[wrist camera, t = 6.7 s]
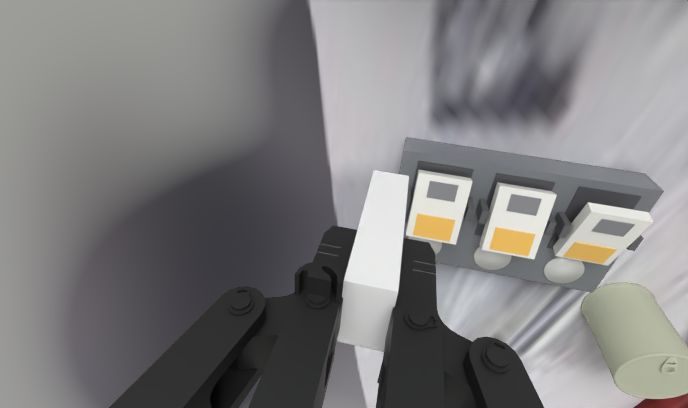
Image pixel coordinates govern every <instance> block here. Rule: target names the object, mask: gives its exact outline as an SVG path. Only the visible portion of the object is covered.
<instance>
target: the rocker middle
mask: <svg viewBox="0 0 688 408" xmlns="http://www.w3.org/2000/svg"><path fill="white" fill-rule="evenodd" d="M556 196H557V195H556V194H555V193H554V192H552V191H547V190H541V189H535V188H529V187H523V186H516V185H510V184H504V183H498V182H497V185H496V188H495V192H494V195H493V199H492V202H491V206H490V209H489V213H488V216H487V220H486V223H485V227H484V230H483V234H482V237H481V241H480V244H479V245H480V247H481V250H486V251H491V252H497V253H502V254H508V255H513V256H518V257H524V258H529V259H535V256H536V253H537V250H538V247H539V244H540V242H541V239H542V236H543V233H544V230H545V227H546V225H547V222H548V219H549V216H550V213H551V210H552V207H553V205H554V202H555V199H556Z"/></svg>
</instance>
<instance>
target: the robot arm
mask: <svg viewBox="0 0 688 408" xmlns="http://www.w3.org/2000/svg"><path fill="white" fill-rule="evenodd" d="M408 182H409V176H407V175H401V174H395V173H389V172H383V171H377V170H374V172H373V175H372V179H371V183H370V186H369V190H368V194H367V197H366V201H365V205H364V208H363V212H362V216H361V219H360V223H359V227H358V230H354V229H349V228H343V227H338V226H332V227H331V228H330V229H329V230H327V231H326V232H325V233H324V235H323V238H322V240H321V243H320V245H319V248H318V251H317V253H316V255H315V258H314V260H313V262H312V263H308V264H305V265H304V266H302V267H300V268H299V269H298V270H297V272H296V273H295V292H294V293H293V294H290V295H288V296H282V297H272V298H264V296H263V294H262V293H261V292H260V291H258V290H257V289H255V288H251V287H237V288H234V289H231V290H229V291H228V292H226V293H225V294H223V295H222V296H221V297H220V298H219V299H218V300H217V301H216V302H215V303H214V304H213V305H212V306H211V307H210V308H209V309H208V310H207V311H206V312H205V313H204V314H203V315H202V316H201V317H200V318H199V319H198V320H197V321H196V322H195V323H194V324H193V325H192V326H191V327H190V328H189V329H188V330H187V331H186V332H185V333H184V334H183V335H182V336H181V337H180V338H179V339H178V340H177V341H176V342H175V343H174V344H173V345H172V346H171V347H170V348H169V349H168V350H167V351H166V352H165V353H164V354H163V355H162V356H161V357H160V358H159V359H158V360H157V361H156V362H155V363H154V364H153V365H152V366H151V367H150V368H149V369H148V370H147V371H146V372H145V373H144V374H143V375H142V376H141V377H140V378H139V379H138V380H137V381H136V382H135V383H134V384H133V385H132V386H131V387H130V388H129V389H127V390H126V392H124V394H123V395H122V396H121V397H119V399H117V401H115V402H114V404H112V405H111V406H110V407H109V408H239V406H240V405H241V403H242V402H243V400H244V399H245V398H246V396H247V395H248V393H249V392H250V390H251V389H252V387H253V386H254V385H255V383H256V382H257V380H258V379H259V378H260V376H261V375H262V376H261V379H260V381H259V383H258V386H257V388H256V391H255V393H254V396H253V398H252V400H251V403H250V405H249V408H322V405H323V401H324V397H325V393H326V389H327V384H328V380H329V376H330V372H331V368H332V363H333V359H334V352H335V345H336V342H337V341H339V342H343V343H347V344H352V345H356V346H361V347H365V348H370V349H374V350H378V351H383V352H384V356H383V362H382V366H381V370H380V374H379V378H378V382H377V383H379V387H378V395H377V403H376V408H544V407H543V404H542V402H541V400H540V398H539V396H538V394H537V392H536V390H535V388H534V386H533V384H532V382H531V380H530V378H529V376H528V374H527V372H526V370H525V368H524V366H523V363H522V361H521V360H520V358H519V357H518V355H517V354H516V352H515V351H514V350H513V349H512V348H511V347H509V346H508V345H507V344H506V343H504V342H502V341H500V340H498V339H496V338H490V337H482V338H477V339H476V340H475V341H473V342H472V341H470V340H468V339H466V338H464V337H462V336H460V335H458V334H456V333H455V332H453V331H451V330H450V329H449V328H448V327H447V326H446V325H445V324H444V323H443V322H442V320H441V319H440V317H439V315H438V312H437V300H436V275H435V274H436V266H435V264H436V262H435V252H434V250H433V248H432V247H431V245H430V243H429V242H423V241H418V240H413V239H407V238H403V236H404V225H405V214H406V204H407V193H408Z"/></svg>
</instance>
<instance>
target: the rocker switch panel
mask: <svg viewBox="0 0 688 408" xmlns="http://www.w3.org/2000/svg"><path fill="white" fill-rule="evenodd" d="M418 170H424V171H430V172H436V173H442V174H448V175H455V176H461V177H467V178H471V180H472V181H473V182H472V186H471V190H470V193H469V197H468V201H467V205H466V208H465V212H464V216H463V220H462V223H461V227H460V231H459V234H458V238H457V242H456V245H455V244H449V243H444V242H438V241H433V240H428V239H422V238H417V237H412V236H406V228H407V223H408V218H409V213H410V209H411V204H412V199H413V194H414V189H415V184H416V180H417V175H418ZM399 174H401V175H407V176H409V182H408V193H407V204H406V214H405V225H404V236H403V238H407V239H413V240H418V241H423V242H429V243H430V245H431V247H432V248H433V250H434V252H435V262H437V263H442V264H447V265H453V266H458V267H463V268H468V269H473V270H479V271H484V272H489V273H494V274H499V275H505V276H510V277H515V278H520V279H525V280H531V281H536V282H541V283H546V284H551V285H557V286H562V287H567V288H572V289H577V290H582V291H588V292H594V291H595V289H596V288H597V286H598V285H599V283H600V282H601V280H602V279H603V278H604V276H605V275H606V273H607V272H608V270H609V269H610V268H611V266H612V265H613V263H614V262H615V260H616V259H617V258H618V257H617V258H616V259H615V260H614V261H613V262H612V263H610V264H609V265H608V266H607V265H602V264H596V263H591V262H585V261H580V260H574V259H569V258H563V257H558V256H555V253H554V249H553V246H554V245H555V243H556V242H557V241H558V240H559V238H566V236H567V234H568V232H569V230H570V229H571V227H572V225H571V223H572V222H573V221H574V219H575V218H576V217H577V216H578V214H579V213H580V212H581V210H582V209H583V208H584V207H585V205H586V204H587V203H588V202H589V203H595V204H601V205H607V206H614V207H620V208H626V209H632V210H638V211H644V212H650V210H651V209H652V207H653V206H654V204H655V203H656V202H657V200H658V199H659V197H660V196H661V194H662V193H663V192H664V191H663V190H662V189H661V188H660V187H659V186H658V185H657V184H656V183H654V182H653V181H652V180H651V179H650V178H649V177H648V176H647V175H646V174H643V173H637V172H630V171H624V170H617V169H611V168H604V167H597V166H591V165H584V164H578V163H571V162H565V161H558V160H552V159H545V158H538V157H532V156H525V155H519V154H512V153H506V152H499V151H492V150H486V149H479V148H473V147H466V146H460V145H453V144H447V143H440V142H433V141H427V140H420V139H414V138H407V137H406V141H405V147H404V152H403V157H402V162H401V167H400V173H399ZM497 182H498V183H504V184H510V185H516V186H523V187H529V188H535V189H541V190H547V191H552V192H554V193H555V194H556V195H557V196H556V199H555V202H554V205H553V207H552V210H551V213H550V216H549V219H548V222H547V225H546V227H545V230H544V233H543V236H542V239H541V242H540V244H539V247H538V250H537V253H536V256H535V259H529V258H524V257H518V256H513V255H508V254H502V253H497V252H491V251H486V250H481V247H480V245H479V244H480V241H481V237H482V234H483V230H484V227H485V223H486V220H487V216H488V213H489V209H490V206H491V202H492V199H493V195H494V192H495V188H496V185H497ZM643 239H644V238H643V237H642V236H641V235H640V236H639V237H638V238H637V239H636V240H635V241H634V242H633V243H631V244H630V245H629V246H628V247H627V249H628V250H633V251H635V250H636V248H637V247H638V245H639V244H640V243H641V241H642V240H643Z"/></svg>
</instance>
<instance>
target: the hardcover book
mask: <svg viewBox="0 0 688 408" xmlns="http://www.w3.org/2000/svg"><path fill="white" fill-rule="evenodd" d="M634 408H688V393H687V394H684V395H681V396H677V397H673V398H666V399H645V400H643V401H642V402H641V403H639V404H638V405H637V406H635V407H634Z"/></svg>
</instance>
